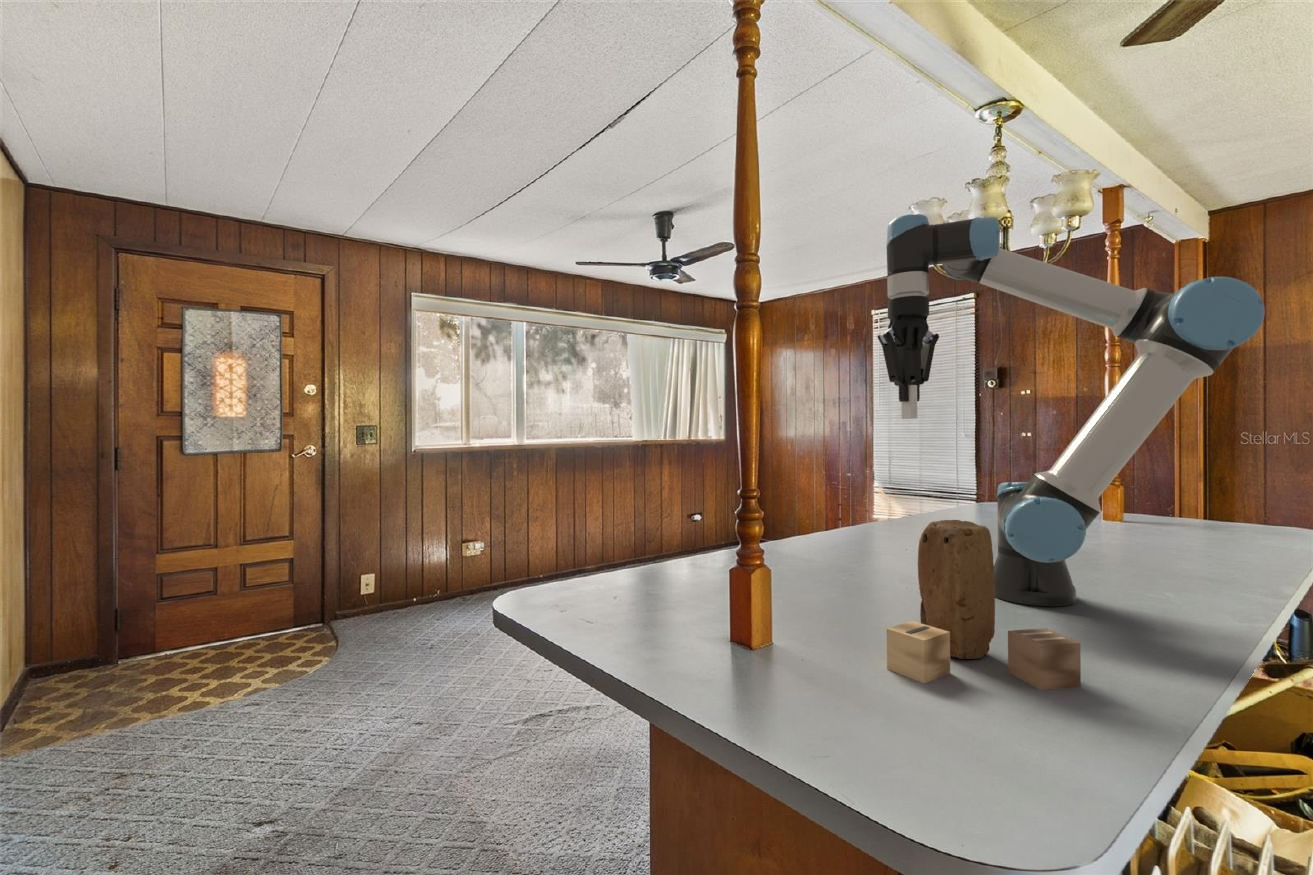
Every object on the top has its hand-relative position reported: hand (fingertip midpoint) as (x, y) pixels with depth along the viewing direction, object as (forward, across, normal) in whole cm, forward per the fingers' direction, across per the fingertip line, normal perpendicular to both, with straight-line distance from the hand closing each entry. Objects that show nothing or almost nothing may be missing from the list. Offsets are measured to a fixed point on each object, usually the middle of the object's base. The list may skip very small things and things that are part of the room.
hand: (909, 418), depth 120 cm
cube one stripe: (+37, +22, +28) cm, 51 cm away
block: (+37, +11, +23) cm, 44 cm away
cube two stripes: (+37, +8, +36) cm, 52 cm away
